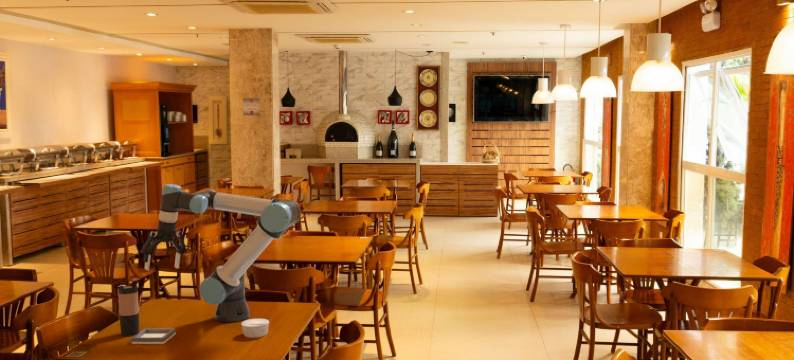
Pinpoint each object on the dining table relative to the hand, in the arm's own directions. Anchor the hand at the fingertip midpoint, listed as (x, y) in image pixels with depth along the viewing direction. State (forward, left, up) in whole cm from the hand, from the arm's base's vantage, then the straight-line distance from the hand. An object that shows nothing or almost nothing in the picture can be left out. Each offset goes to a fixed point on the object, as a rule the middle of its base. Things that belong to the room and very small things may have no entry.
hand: (161, 268), depth 314 cm
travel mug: (+9, +14, -24) cm, 30 cm away
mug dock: (-4, +21, -24) cm, 32 cm away
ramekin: (-44, +15, -25) cm, 53 cm away
